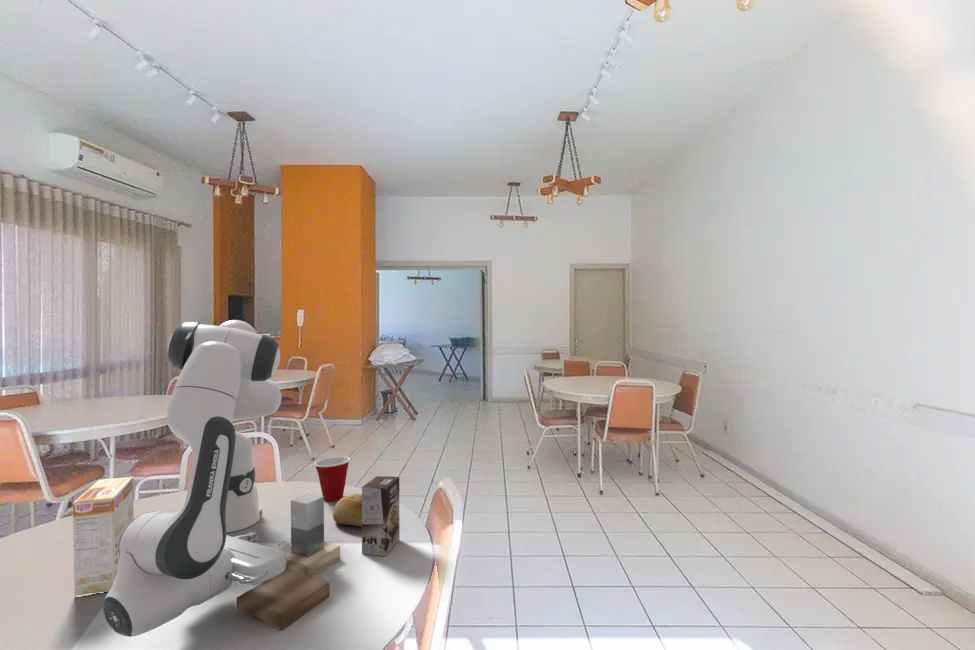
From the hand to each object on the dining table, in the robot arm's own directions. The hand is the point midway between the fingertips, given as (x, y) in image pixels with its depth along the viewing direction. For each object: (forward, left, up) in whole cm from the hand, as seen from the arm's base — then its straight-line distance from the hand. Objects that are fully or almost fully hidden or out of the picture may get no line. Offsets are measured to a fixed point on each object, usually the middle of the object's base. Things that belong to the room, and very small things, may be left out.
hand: (271, 540), depth 104 cm
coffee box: (+10, +24, -10) cm, 28 cm away
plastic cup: (-24, +44, -10) cm, 51 cm away
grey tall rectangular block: (0, +10, -6) cm, 12 cm away
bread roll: (-4, +32, -10) cm, 34 cm away
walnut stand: (+8, -4, -9) cm, 13 cm away
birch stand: (0, +10, -9) cm, 14 cm away
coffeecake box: (-35, -13, -10) cm, 38 cm away
